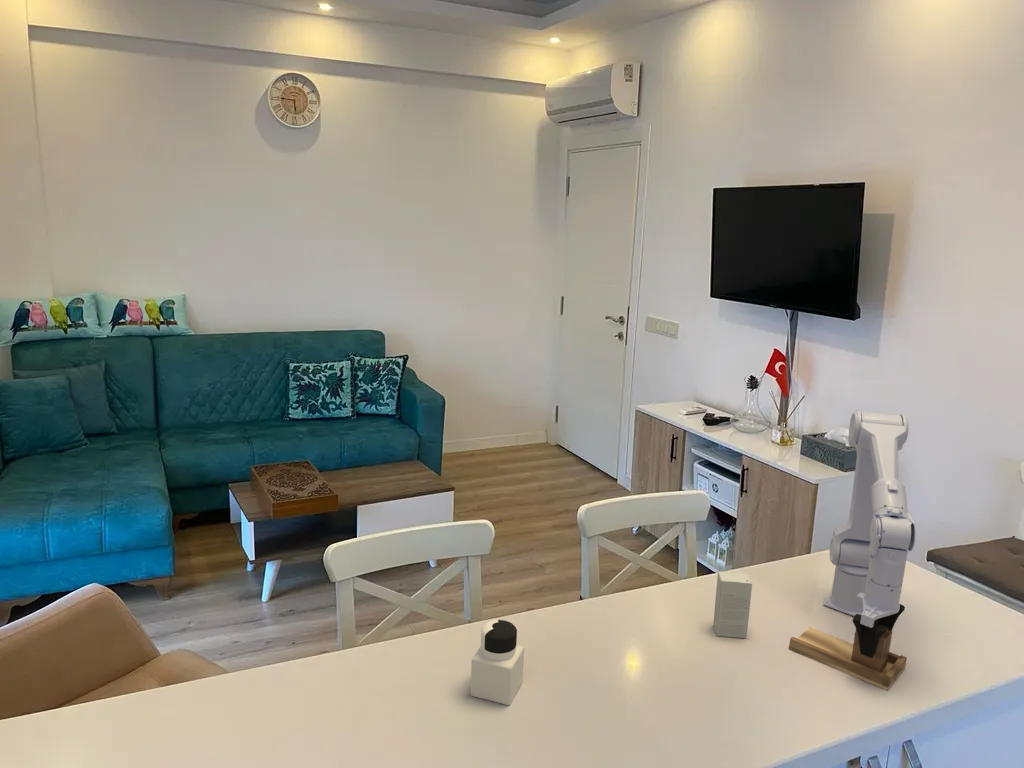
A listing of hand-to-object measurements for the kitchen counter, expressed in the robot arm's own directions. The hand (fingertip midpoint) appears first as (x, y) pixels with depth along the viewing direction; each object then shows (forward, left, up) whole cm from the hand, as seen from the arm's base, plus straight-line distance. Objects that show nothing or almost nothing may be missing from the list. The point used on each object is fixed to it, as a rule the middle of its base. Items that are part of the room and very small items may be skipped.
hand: (873, 647), depth 138 cm
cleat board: (0, -4, -4) cm, 6 cm away
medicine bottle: (+55, -43, -5) cm, 70 cm away
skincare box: (+8, -24, -5) cm, 26 cm away
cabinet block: (0, 0, -4) cm, 4 cm away
